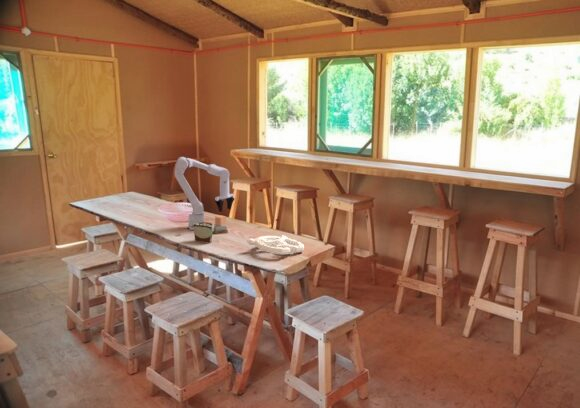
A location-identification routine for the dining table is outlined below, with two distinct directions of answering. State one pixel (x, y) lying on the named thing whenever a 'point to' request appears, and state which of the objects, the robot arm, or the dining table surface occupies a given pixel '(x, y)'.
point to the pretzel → (277, 244)
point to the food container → (203, 232)
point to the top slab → (220, 227)
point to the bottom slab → (220, 231)
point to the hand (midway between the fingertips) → (224, 210)
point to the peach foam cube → (220, 220)
